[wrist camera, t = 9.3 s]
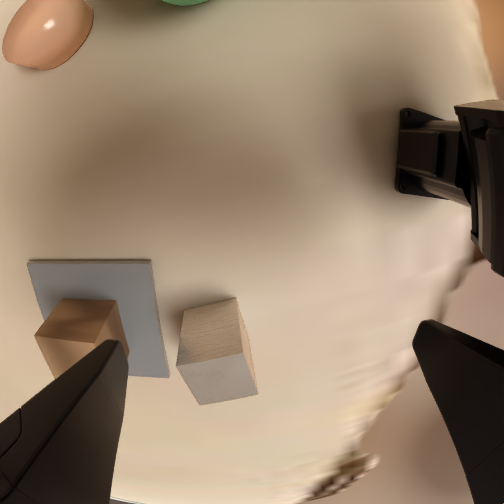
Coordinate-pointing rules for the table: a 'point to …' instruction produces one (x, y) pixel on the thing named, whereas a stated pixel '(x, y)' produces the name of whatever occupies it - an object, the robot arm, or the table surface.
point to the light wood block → (216, 353)
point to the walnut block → (78, 331)
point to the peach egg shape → (46, 32)
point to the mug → (184, 2)
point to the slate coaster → (110, 288)
